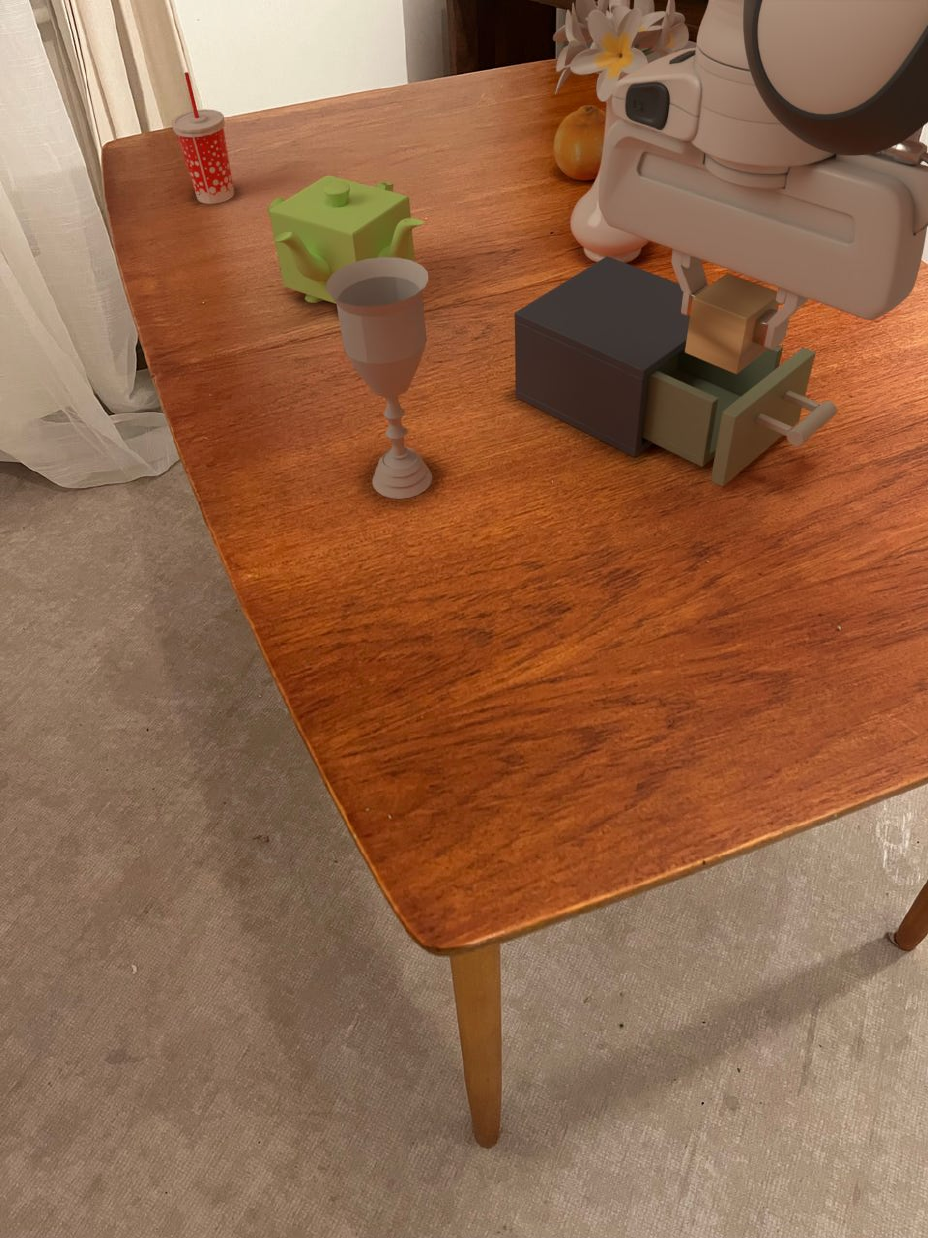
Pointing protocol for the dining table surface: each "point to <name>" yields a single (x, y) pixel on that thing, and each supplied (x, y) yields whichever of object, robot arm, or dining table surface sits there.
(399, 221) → the kettle
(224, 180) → the beverage cup
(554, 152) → the fruit
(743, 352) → the block
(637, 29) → the flower vase
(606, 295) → the cabinet
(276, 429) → the dining table surface
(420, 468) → the chalice
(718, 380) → the drawer
